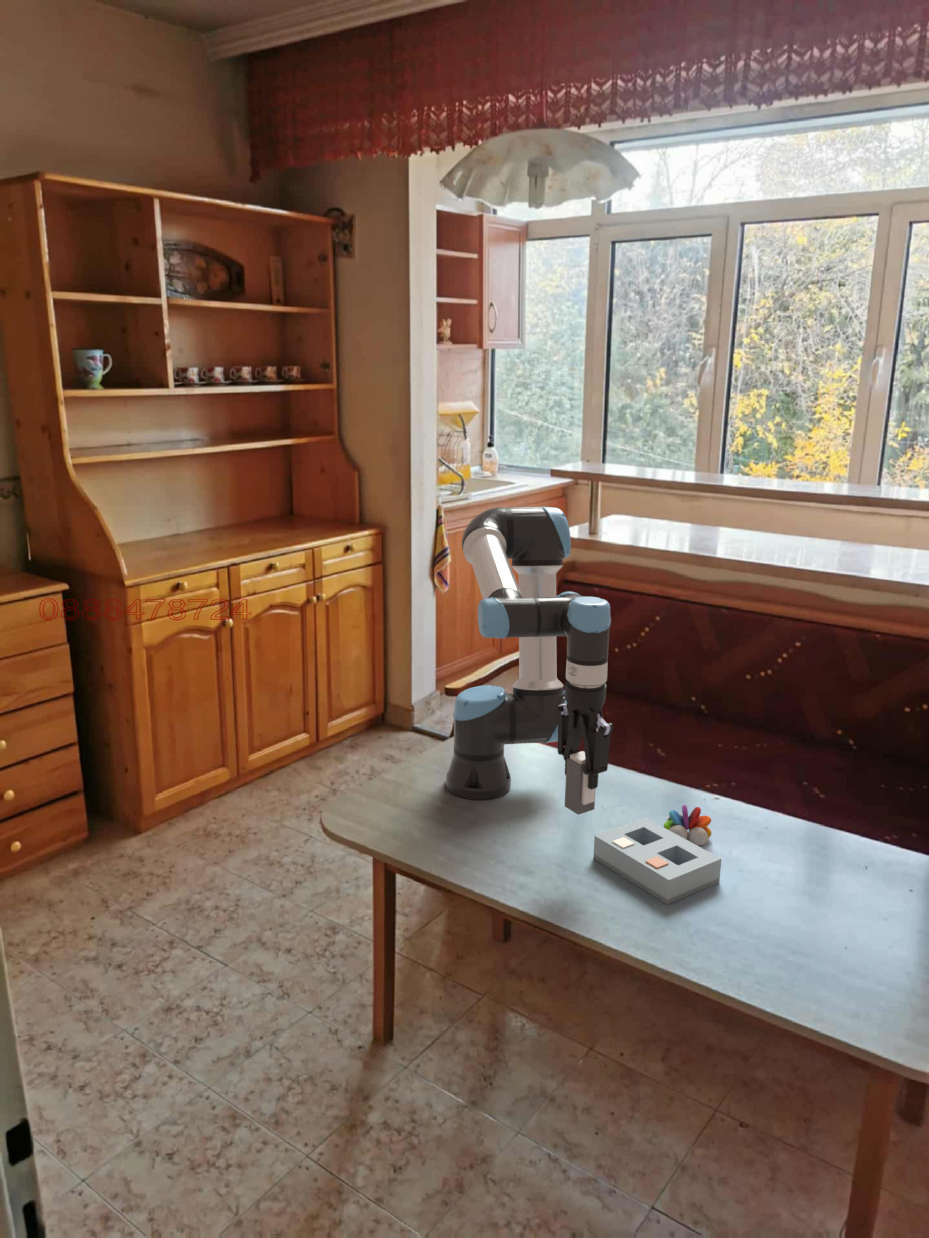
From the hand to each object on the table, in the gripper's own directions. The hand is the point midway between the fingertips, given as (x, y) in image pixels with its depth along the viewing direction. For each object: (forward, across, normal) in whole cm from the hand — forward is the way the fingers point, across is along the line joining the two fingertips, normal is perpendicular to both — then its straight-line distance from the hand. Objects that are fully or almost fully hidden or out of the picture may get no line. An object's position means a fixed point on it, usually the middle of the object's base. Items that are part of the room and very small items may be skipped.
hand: (580, 797), depth 177 cm
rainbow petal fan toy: (+16, +3, +28) cm, 32 cm away
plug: (+2, 0, 0) cm, 2 cm away
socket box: (+15, +9, +13) cm, 22 cm away
